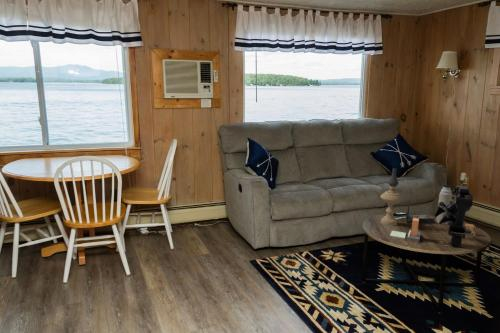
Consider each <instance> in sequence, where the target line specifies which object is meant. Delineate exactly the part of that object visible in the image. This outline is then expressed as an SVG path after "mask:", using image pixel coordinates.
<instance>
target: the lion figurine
mask: <svg viewBox="0 0 500 333" xmlns="http://www.w3.org/2000/svg"><path fill="white" fill-rule="evenodd" d="M464 223H465V227H466V230H470V231H471V232H470V234H472V235H473V237H475V236H476V235H477V236H480V234H479V233H478V232H477V228H476V226H475V224H473V223H471V224H470V223H467V222H466V221H465V222H464Z"/></svg>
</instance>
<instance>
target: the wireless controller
mask: <svg viewBox="0 0 500 333" xmlns="http://www.w3.org/2000/svg"><path fill="white" fill-rule="evenodd" d="M410 201H411V200H408V206H407V212H406V214H405V219H406V221H405V222H406V223H412V221H413V218H418V219H419V223H418V224H434V223H435V218H434V217H432V216H431V215H430V214H429V215H428V214H427V213H416V214H412V213H410Z"/></svg>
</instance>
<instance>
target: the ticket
mask: <svg viewBox="0 0 500 333" xmlns="http://www.w3.org/2000/svg"><path fill="white" fill-rule="evenodd" d="M419 224H420V223H419V219H418V218H413V221H412V222H411V229H410V230H411V236H414V237H417V232H419Z"/></svg>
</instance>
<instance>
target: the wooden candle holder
mask: <svg viewBox="0 0 500 333" xmlns="http://www.w3.org/2000/svg"><path fill="white" fill-rule="evenodd" d="M387 184H388V185H389V189H388V190H385V191H384V192H383V193H382V194H381V195H380V198H381V200H382V201H384V202H386V203H387V205H388V207H387V208H385V211H386V215H385V216H384V217H382V218H381V220H380V223H381V224H383V225H386V226H390V227H391V226H397V225H398V220H397V218H395V216H394V214H395V212H396V211H395V208H394V206H395V204H399V203H401V202H402V201H403V200H404V197H403V196H402V194H400V192H398V191H399V189H397V186H398V185H399V180H398V178H397V168H396V167H395V168H394V167H393V168H392V174H391V177H390V178H389V180H388V181H387Z"/></svg>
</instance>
